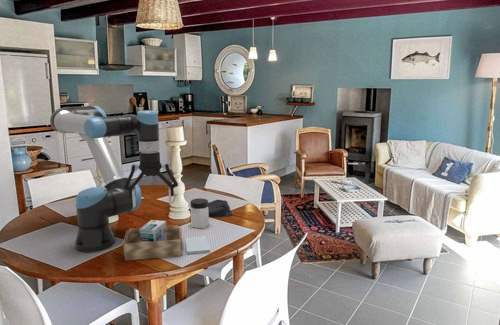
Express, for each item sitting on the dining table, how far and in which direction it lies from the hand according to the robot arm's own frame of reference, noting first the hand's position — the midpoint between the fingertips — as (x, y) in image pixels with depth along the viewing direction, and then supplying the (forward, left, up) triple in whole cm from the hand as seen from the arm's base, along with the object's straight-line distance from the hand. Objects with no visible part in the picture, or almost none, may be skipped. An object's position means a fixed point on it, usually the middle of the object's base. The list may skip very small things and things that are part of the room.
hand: (152, 205), depth 151 cm
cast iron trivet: (+30, +44, -19) cm, 57 cm away
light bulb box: (0, 0, -19) cm, 19 cm away
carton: (0, 0, -19) cm, 19 cm away
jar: (+20, +24, -19) cm, 36 cm away
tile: (+17, 0, -19) cm, 25 cm away
